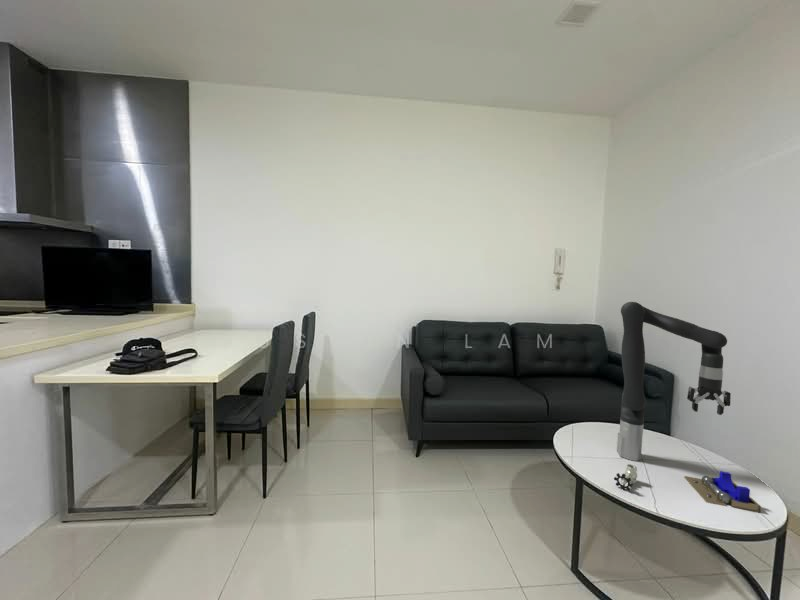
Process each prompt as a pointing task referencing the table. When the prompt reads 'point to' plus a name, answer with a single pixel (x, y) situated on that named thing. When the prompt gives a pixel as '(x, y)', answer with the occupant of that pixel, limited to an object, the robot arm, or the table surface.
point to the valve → (627, 477)
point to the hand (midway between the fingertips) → (707, 412)
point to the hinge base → (719, 494)
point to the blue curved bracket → (732, 487)
